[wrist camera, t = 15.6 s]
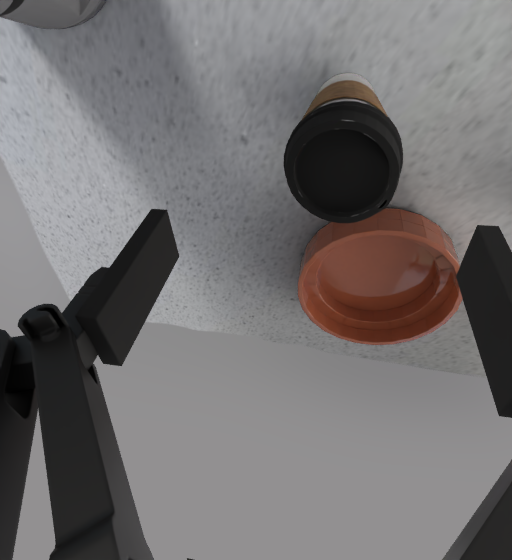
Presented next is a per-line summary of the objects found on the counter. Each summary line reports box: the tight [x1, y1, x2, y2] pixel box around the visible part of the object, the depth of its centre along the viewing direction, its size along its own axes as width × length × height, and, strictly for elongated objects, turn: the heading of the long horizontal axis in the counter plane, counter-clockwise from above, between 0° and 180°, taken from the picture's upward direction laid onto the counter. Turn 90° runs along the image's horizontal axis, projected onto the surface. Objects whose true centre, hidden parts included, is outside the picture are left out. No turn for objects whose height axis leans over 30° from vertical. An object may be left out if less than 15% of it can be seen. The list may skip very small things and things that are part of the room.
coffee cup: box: [284, 73, 403, 223], centre depth 30 cm, size 8×8×15 cm
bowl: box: [298, 208, 463, 345], centre depth 47 cm, size 19×19×5 cm
